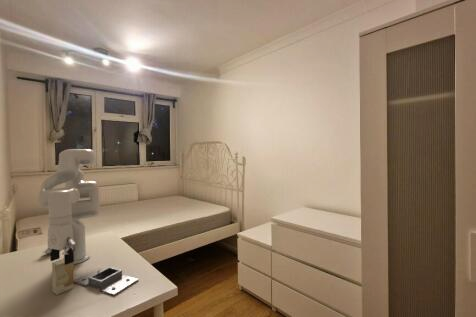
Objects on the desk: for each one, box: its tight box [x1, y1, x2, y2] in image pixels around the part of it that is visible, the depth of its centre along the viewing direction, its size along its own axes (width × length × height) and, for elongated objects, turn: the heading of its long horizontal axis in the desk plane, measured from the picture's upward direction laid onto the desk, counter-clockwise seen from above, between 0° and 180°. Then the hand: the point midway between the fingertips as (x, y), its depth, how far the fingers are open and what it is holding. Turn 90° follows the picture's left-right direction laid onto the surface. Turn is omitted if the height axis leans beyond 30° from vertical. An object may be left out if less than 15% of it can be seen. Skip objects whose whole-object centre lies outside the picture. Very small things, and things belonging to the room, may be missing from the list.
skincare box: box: [51, 258, 75, 295], centre depth 97 cm, size 6×4×12 cm
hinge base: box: [73, 266, 139, 297], centre depth 102 cm, size 26×12×4 cm, turn 66°
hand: (62, 261), depth 96 cm, fingers open, 9 cm apart
